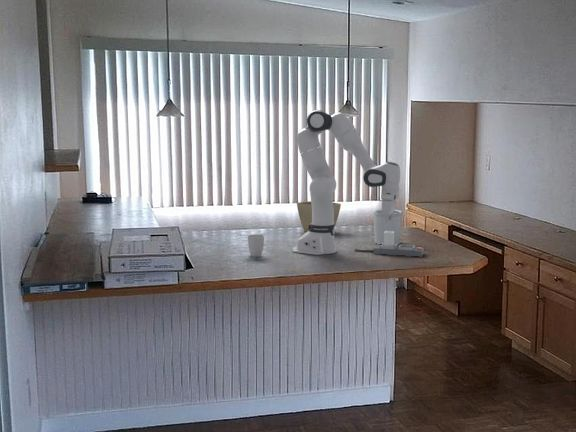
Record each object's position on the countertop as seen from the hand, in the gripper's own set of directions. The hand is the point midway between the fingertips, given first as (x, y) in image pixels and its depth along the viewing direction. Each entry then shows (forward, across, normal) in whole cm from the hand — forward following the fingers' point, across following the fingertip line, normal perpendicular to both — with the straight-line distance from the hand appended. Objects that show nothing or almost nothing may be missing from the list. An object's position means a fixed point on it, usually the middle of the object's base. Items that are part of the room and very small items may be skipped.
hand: (388, 221), depth 357 cm
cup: (+19, +26, -61) cm, 69 cm away
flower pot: (+18, -48, -48) cm, 70 cm away
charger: (+13, 0, +1) cm, 13 cm away
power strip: (+16, 0, +1) cm, 16 cm away
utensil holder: (+16, -26, -4) cm, 31 cm away
